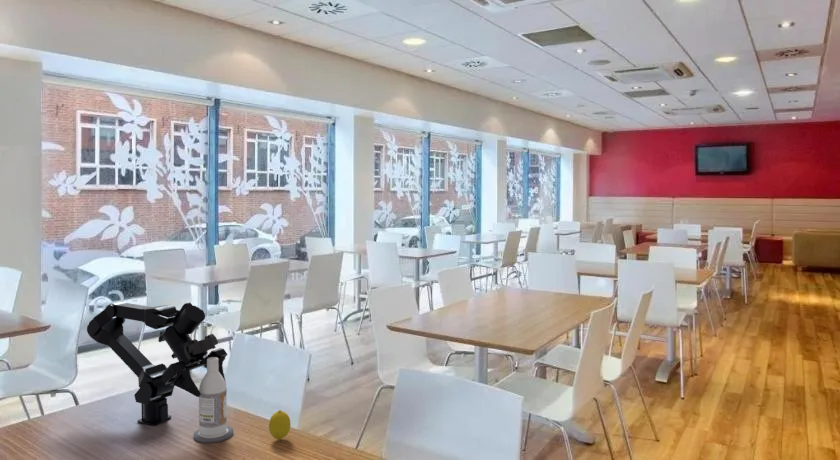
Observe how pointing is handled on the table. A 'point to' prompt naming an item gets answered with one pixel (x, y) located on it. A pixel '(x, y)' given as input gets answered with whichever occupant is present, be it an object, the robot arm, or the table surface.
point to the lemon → (279, 425)
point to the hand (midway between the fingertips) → (212, 390)
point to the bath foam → (212, 401)
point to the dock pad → (213, 439)
